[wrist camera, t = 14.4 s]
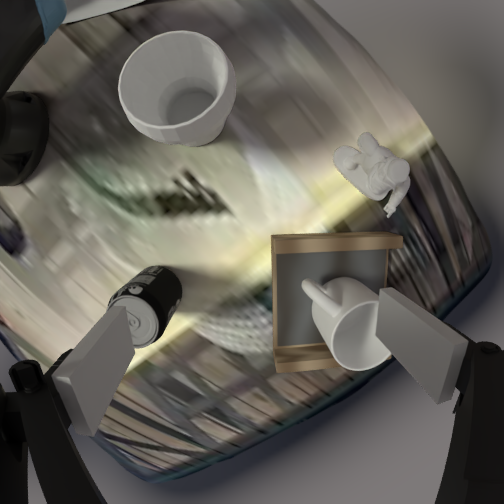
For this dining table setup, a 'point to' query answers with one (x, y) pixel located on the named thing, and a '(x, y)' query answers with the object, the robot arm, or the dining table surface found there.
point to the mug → (347, 321)
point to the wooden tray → (321, 271)
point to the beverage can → (149, 303)
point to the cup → (178, 88)
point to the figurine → (374, 170)
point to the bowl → (93, 8)
